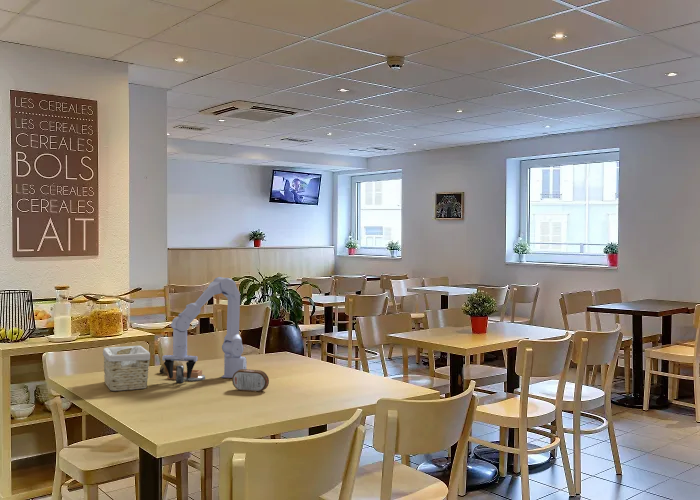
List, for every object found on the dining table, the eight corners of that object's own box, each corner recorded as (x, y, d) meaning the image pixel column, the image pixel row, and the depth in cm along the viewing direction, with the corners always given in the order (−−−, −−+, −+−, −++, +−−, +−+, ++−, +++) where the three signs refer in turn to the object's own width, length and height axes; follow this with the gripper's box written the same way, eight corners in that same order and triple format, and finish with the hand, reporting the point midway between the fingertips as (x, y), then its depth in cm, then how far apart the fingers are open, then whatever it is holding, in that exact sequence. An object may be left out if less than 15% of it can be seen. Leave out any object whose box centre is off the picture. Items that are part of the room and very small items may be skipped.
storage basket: (101, 381, 278) (102, 346, 278) (141, 378, 285) (142, 344, 285) (108, 393, 257) (108, 355, 257) (151, 389, 264) (151, 352, 264)
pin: (184, 382, 279) (184, 365, 279) (182, 383, 276) (182, 366, 276) (177, 381, 279) (177, 365, 279) (175, 383, 276) (175, 366, 276)
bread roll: (175, 383, 293) (183, 367, 293) (155, 373, 293) (162, 357, 293) (181, 378, 303) (189, 363, 303) (161, 369, 303) (169, 353, 303)
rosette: (208, 377, 289) (208, 374, 289) (200, 381, 279) (200, 378, 279) (186, 376, 290) (186, 373, 290) (177, 381, 280) (177, 378, 280)
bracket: (202, 377, 287) (202, 370, 287) (197, 380, 282) (197, 372, 282) (171, 376, 289) (171, 369, 289) (166, 379, 283) (166, 371, 283)
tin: (269, 391, 262) (269, 370, 262) (266, 393, 259) (266, 371, 259) (234, 389, 266) (234, 368, 266) (230, 390, 263) (231, 369, 263)
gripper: (159, 346, 274) (159, 379, 274) (193, 347, 272) (193, 380, 272) (166, 344, 281) (166, 376, 281) (199, 345, 279) (199, 377, 279)
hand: (179, 378), depth 277 cm, fingers open, 7 cm apart
